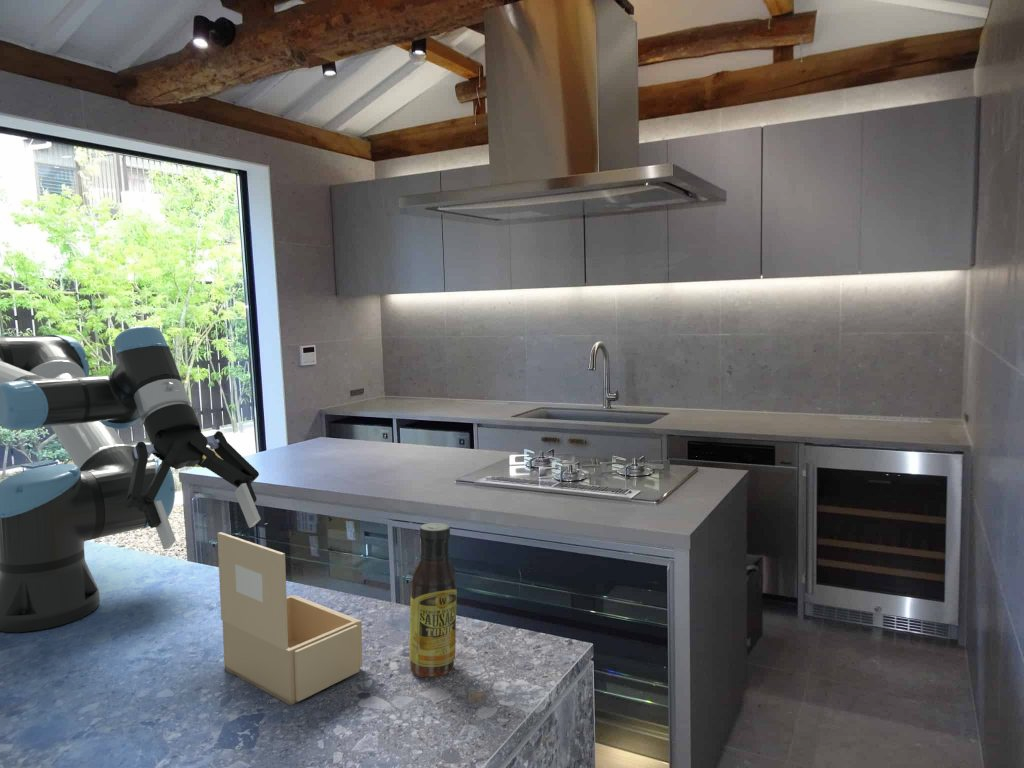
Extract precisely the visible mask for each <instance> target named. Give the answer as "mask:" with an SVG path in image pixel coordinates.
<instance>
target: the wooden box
mask: <svg viewBox="0 0 1024 768" xmlns="http://www.w3.org/2000/svg"><path fill="white" fill-rule="evenodd" d="M286 597H287V627H288V649H286V650H284V649H282V648H279V647H277V646H275V645H273V644H271V643H269V642H267V641H265V640H263V639H260V638H258V637H256V636H254V635H252V634H250V633H248V632H246V631H244V630H241V629H239V628H237V627H235V626H233V625H231V624H229V623H227V622H225V621H222V639H223V642H222V643H223V664H224V665H223V668H224V670H225V671H226V672H229V673H230V674H232V675H233V676H236V677H238V678H239V679H240V680H243V681H244V682H245V683H246V682H247V683H249V684H250V685H252V686H254V687H256V688H258V689H259V690H261V691H262V692H265V693H267V694H269V695H270V696H272V697H274V698H276V699H278V700H279V701H282V702H283V703H285V704H287V705H288V706H290V707H291V706H293V705H295V704H297V703H299V702H301V701H303V700H305V699H307V698H309V697H311V696H312V695H315V694H317V693H319V692H321V691H323V690H325V689H327V688H330V686H333V685H335V684H337V683H339V682H342V681H343V680H345V679H347V678H350V677H351V676H353V675H355V674H357V673H359V672H360V671H361V667H363V635H362V634H363V632H362V620H360V619H358V618H355V617H352V616H350V615H347V614H346V613H343V612H340V611H338V610H334V609H332V608H329V607H328V606H324V605H322V604H320V603H317V602H314V601H311V600H309V599H306V598H304V597H301V596H298V595H293V594H291V595H287V596H286Z"/></svg>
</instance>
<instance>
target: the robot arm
mask: <svg viewBox="0 0 1024 768" xmlns="http://www.w3.org/2000/svg"><path fill="white" fill-rule="evenodd" d="M113 342H114V343H113V344H114V350H115V356H116V357H117V358H118V363H117V365H115V367H114V370H113V371H112V372H111V374H109V375H107V374H106V375H105V374H104V375H92V376H91V375H90V363H89V359H87V358H86V357H87V353H86V351H85V349H84V347H83V346H82V345H81V343H80V342H79V341H78V340H77V339H76V338H73V337H72V336H69V335H58V334H52V333H51V334H44V335H21V336H20V335H19V336H17V335H15V336H12V335H11V336H10V335H9V336H6V335H5V336H0V425H1V427H2V428H4V429H6V430H9V431H17V430H26V431H27V430H28V431H29V430H31V431H32V430H35V429H36V430H37V429H41V428H49V427H51V429H52V431H53V432H54V434H55V435H56V437H57V439H58V440H59V442H60V443H61V445H62V447H63V448H64V450H65V452H66V453H67V455H68V456H69V458H70V459H71V461H72V462H73V464H72V463H60V464H55V465H45V466H39V467H36V468H31V469H28V470H23V471H21V472H18V473H15V474H13V475H11V476H9V477H6V478H5V479H3V480H2V481H0V632H2V633H3V632H5V633H25V632H35V631H41V630H47V629H50V628H55V627H59V626H63V625H65V624H69V623H72V622H75V621H77V620H78V621H79V620H80V619H82V618H84V617H87V616H88V615H90V614H92V613H93V612H95V611H96V610H97V609H96V608H97V606H98V605H99V606H100V604H99V603H100V602H101V601H100V590H99V588H98V585H97V583H96V581H95V578H94V576H93V574H92V572H91V570H90V567H89V566H88V563H87V562H86V557H85V542H87V541H91V540H96V539H101V538H105V537H109V536H113V535H117V534H122V533H126V532H127V533H128V532H133V531H137V530H140V529H144V530H145V529H147V528H150V529H154V528H155V529H156V532H157V534H158V538H159V540H160V543H161V546H162V549H163V550H164V551H165V550H169V549H170V548H171V547H172V546H173V545H174V543H175V542H176V541H177V540H176V537H175V534H174V531H173V529H172V527H171V524H170V520H169V517H170V515H171V514H172V511H173V508H174V504H175V497H176V495H175V494H176V490H175V480H174V475H173V471H172V469H171V468H173V469H175V470H180V469H182V468H186V467H187V468H192V467H195V466H196V465H198V466H199V467H200V468H203V469H208V470H209V471H211V472H212V473H214V474H215V475H216V476H218V477H220V478H222V479H223V480H224V481H226V482H228V483H229V484H231V485H232V486H234V487H235V488H236V489H235V490H234V494H235V496H236V500H237V502H238V505H239V507H240V509H241V511H242V514H243V516H244V519H245V521H246V524H247V526H248V528H253V527H255V526H256V525H257V524H258V523H259V521H261V519H262V518H261V516H260V514H259V512H258V509H257V507H256V504H255V503H256V502H257V496H256V494H255V491H254V489H253V486H252V484H253V482H254V481H255V480H256V479H257V478H258V477H259V476H260V474H259V473H260V472H259V471H258V470H257V469H256V468H254V466H253V465H252V464H250V462H249V461H248V460H246V459H245V458H244V457H243V456H242V455H241V454H240V453H239V452H238V451H237V450H236V449H235V448H234V447H233V446H232V445H231V444H230V443H229V442H228V441H227V438H226V437H225V435H224V433H223V432H222V431H220V430H219V431H218V430H217V431H215V433H214V434H213V435H208V436H205V435H204V434H203V432H202V431H201V424H200V422H199V419H198V417H197V415H196V414H197V413H196V412H195V409H194V407H193V406H192V405H191V404H192V403H191V400H190V398H189V396H188V392H187V390H186V388H185V385H184V383H183V381H182V377H181V375H180V372H179V370H178V366H177V365H176V362H175V360H174V359H175V358H174V357H173V354H172V351H171V347H170V345H169V344H168V343H167V341H166V339H165V337H164V334H163V333H162V331H161V330H160V329H159V328H157V327H155V326H152V325H136V326H133V327H129V328H127V329H125V330H123V331H121V332H120V333H119V334H117V336H116V337H115V338H114V341H113ZM140 419H141V421H143V426H144V429H145V431H146V434H147V437H148V440H149V442H150V444H146V443H145V442H144V441H139V442H137V444H136V445H135V446H134V445H130V444H126V443H125V442H124V440H122V438H121V437H120V436H119V434H118V432H117V431H116V430H123V429H127V428H130V427H132V426H134V425H136V423H137V422H138V421H139V420H140ZM208 446H209V447H208ZM151 455H153V456H155V457H156V458H152V459H151V460H150V457H151ZM204 457H205V458H204ZM99 606H98V607H99ZM95 609H96V610H95ZM92 611H93V612H92ZM91 612H92V613H91Z"/></svg>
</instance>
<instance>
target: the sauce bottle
mask: <svg viewBox="0 0 1024 768" xmlns="http://www.w3.org/2000/svg"><path fill="white" fill-rule="evenodd" d="M419 537H420V539H421V540H420V555H419V559H420V561H419V562H418V564H417V565H416V566H415V567H414V571H413V574H412V578H411V593H410V614H409V617H410V618H409V654H408V655H409V656H408V658H409V660H410V661H409V664H410V665H409V666H410V671H411V673H413V674H414V675H415V676H416V677H417V676H418V677H422V678H427V679H433V678H434V679H435V678H440V677H444V676H445V675H448V674H449V673H451V672H452V670H453V668H454V664H455V659H456V646H457V645H456V643H457V639H456V637H457V623H456V622H457V595H458V594H457V593H458V591H457V590H458V589H457V581H456V571H455V568H454V566H453V564H452V562H451V560H450V553H449V539H450V537H451V527H450V525H449V524H446V523H443V522H429V523H424V524H422V525H421V526H420V527H419Z"/></svg>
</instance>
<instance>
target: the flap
mask: <svg viewBox="0 0 1024 768" xmlns="http://www.w3.org/2000/svg"><path fill="white" fill-rule="evenodd" d="M216 534H217V556H218V578H219V581H218V582H219V599H220V602H219V603H220V620H221V621H222V622H223V621H225V622H227V623H229V624H231V625H233V626H235V627H237V628H239V629H241V630H244V631H246V632H248V633H250V634H252V635H254V636H256V637H258V638H260V639H263V640H265V641H267V642H269V643H271V644H273V645H275V646H277V647H279V648H282V649H284V650H286V649H288V627H287V597H288V596H287V579H286V578H287V575H286V574H287V573H286V570H287V568H286V553H285V552H283V551H282V552H281V551H278V550H275V549H273V548H270V547H266V546H264V545H261V544H257V543H254V542H253V541H248V540H246V539H242V538H240V537H238V536H233V535H231V534H228V533H225V532H223V531H220V532H217V533H216Z"/></svg>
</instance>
